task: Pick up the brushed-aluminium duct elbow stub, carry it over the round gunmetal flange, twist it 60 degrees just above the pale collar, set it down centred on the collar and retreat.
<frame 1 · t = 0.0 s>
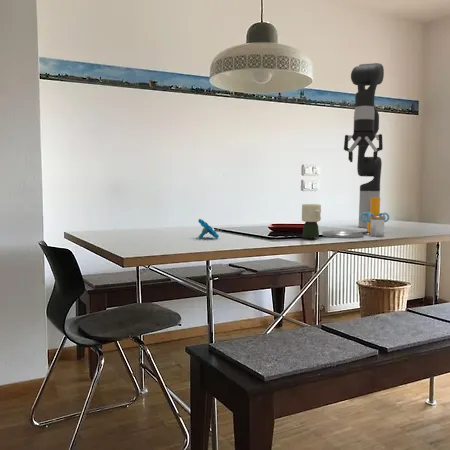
hand: (362, 162, 190), 29 cm above the table, fingers open, 8 cm apart
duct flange: (342, 235, 198), on the table
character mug: (310, 239, 188), on the table
orange block with rings: (374, 232, 212), on the table
elbow: (376, 236, 199), on the table
blue piece: (207, 239, 186), on the table
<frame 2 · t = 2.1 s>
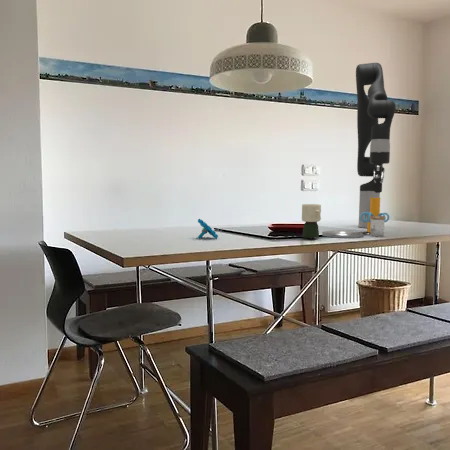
hand: (378, 192, 197), 17 cm above the table, fingers open, 8 cm apart
nothing on the table moved.
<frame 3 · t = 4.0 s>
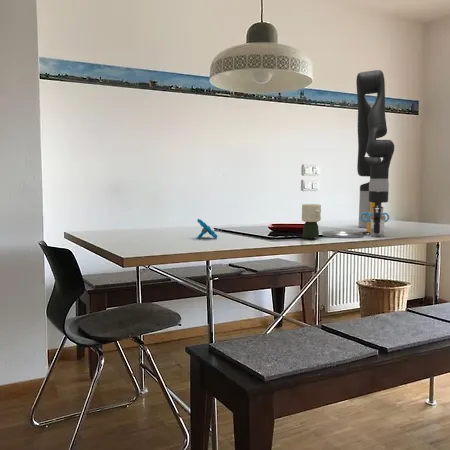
hand: (377, 232, 198), 1 cm above the table, fingers closed on elbow, 5 cm apart
elbow: (376, 236, 199), on the table, touching gripper
everything else where it was.
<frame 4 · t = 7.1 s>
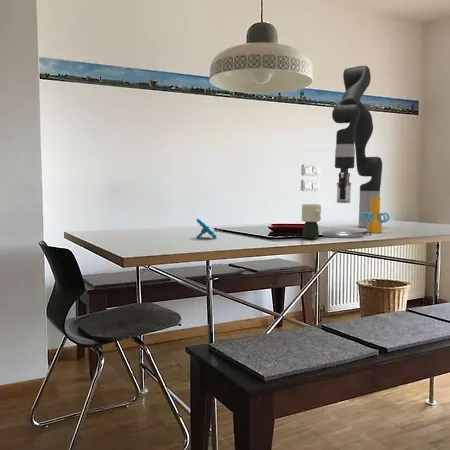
hand: (343, 198, 197), 15 cm above the table, fingers closed on elbow, 5 cm apart
elbow: (343, 202, 197), point 13 cm above the table, touching gripper
everything else where it was.
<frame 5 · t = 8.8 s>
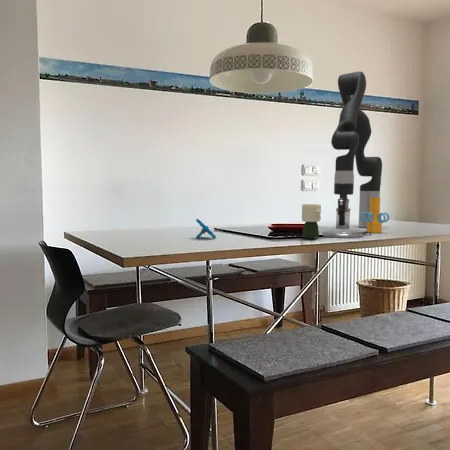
hand: (342, 224, 198), 4 cm above the table, fingers closed on elbow, 5 cm apart
elbow: (342, 228, 198), point 3 cm above the table, touching gripper
everything else where it was.
when the fingers open (4 cm above the table, at t = 10.4 s): elbow stays where it is, resting on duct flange.
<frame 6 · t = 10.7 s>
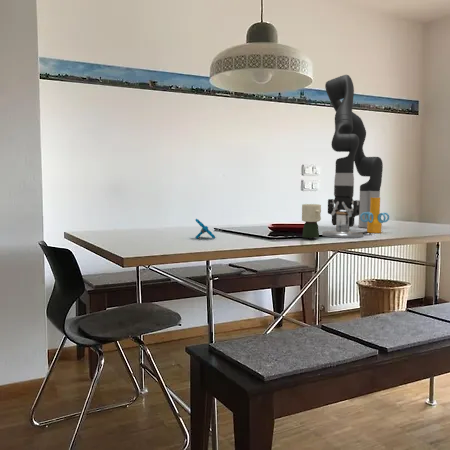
hand: (342, 225, 198), 4 cm above the table, fingers open, 7 cm apart
elbow: (342, 231, 198), point 2 cm above the table, touching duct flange
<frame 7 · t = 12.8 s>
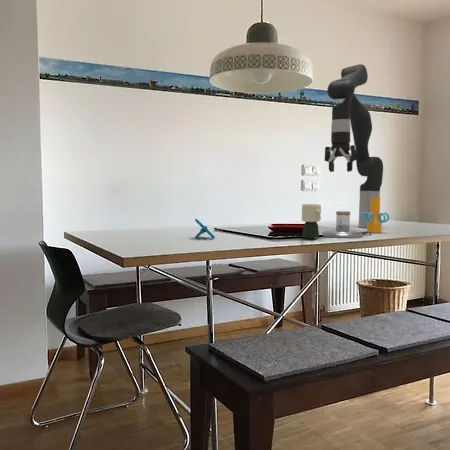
hand: (340, 171, 202), 26 cm above the table, fingers open, 8 cm apart
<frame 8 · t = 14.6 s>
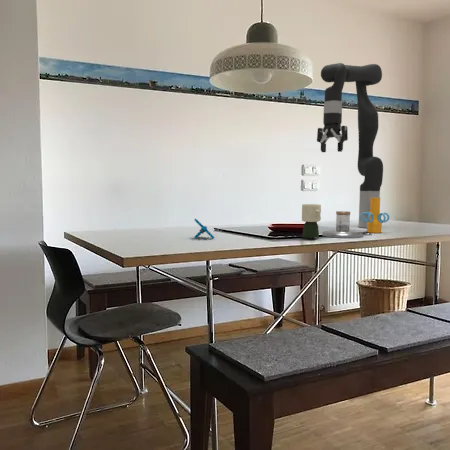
hand: (331, 151, 209), 34 cm above the table, fingers open, 8 cm apart
at the end: elbow 0.1 cm from the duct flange (horizontally); elbow point 1.7 cm above the table; elbow tilted 0° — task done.
